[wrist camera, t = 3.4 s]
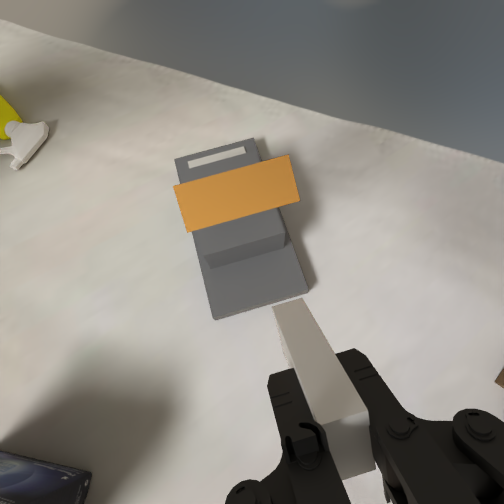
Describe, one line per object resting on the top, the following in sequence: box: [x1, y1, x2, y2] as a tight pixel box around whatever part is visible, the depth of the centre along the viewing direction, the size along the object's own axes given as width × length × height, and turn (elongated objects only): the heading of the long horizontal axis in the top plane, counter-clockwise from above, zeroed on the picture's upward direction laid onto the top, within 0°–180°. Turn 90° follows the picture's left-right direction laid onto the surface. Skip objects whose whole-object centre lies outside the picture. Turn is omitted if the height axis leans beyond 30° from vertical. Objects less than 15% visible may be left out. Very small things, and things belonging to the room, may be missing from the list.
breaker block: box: [174, 138, 309, 320], centre depth 35 cm, size 20×10×6 cm, turn 16°
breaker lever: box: [173, 154, 300, 233], centre depth 26 cm, size 3×7×13 cm, turn 106°
